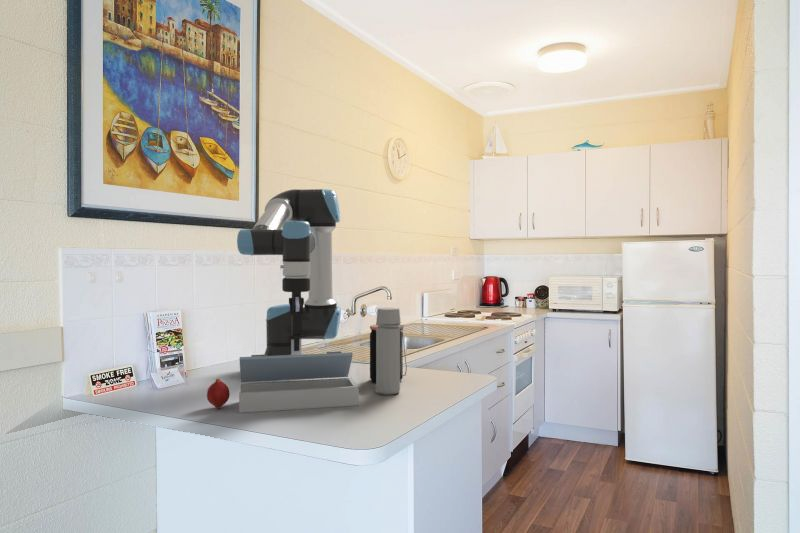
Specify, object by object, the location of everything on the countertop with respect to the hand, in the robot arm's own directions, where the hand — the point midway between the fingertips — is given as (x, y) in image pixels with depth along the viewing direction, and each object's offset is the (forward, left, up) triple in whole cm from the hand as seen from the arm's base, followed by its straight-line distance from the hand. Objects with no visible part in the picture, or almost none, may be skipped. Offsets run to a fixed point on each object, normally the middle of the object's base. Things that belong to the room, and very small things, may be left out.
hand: (296, 362), depth 154 cm
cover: (-5, 0, -6) cm, 7 cm away
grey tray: (+1, 0, -11) cm, 11 cm away
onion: (+1, -21, -11) cm, 24 cm away
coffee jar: (-21, +30, -11) cm, 38 cm away
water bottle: (-5, +28, -11) cm, 31 cm away
